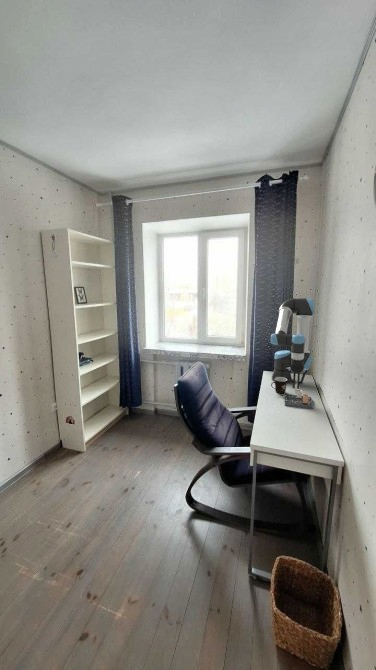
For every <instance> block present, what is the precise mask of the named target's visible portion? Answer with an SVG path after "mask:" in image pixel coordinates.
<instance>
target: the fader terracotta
mask: <svg viewBox="0 0 376 670" xmlns="http://www.w3.org/2000/svg"><path fill="white" fill-rule="evenodd" d="M302 396H303V403H308V397H309V394H307V393H302Z"/></svg>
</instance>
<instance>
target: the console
mask: <svg viewBox="0 0 376 670" xmlns="http://www.w3.org/2000/svg"><path fill="white" fill-rule="evenodd" d="M284 396H285V397H284V406H286V407H294V408H303V409H311V410H313V401H312V396H308V403H303V395H302V398H297V394H291V393H290V394H289V393H285V394H284Z"/></svg>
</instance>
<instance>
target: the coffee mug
mask: <svg viewBox="0 0 376 670" xmlns="http://www.w3.org/2000/svg"><path fill="white" fill-rule="evenodd" d="M273 384H274V387H273ZM270 386H271V387H272V389H274V390H275V393H276V394H278V395H286V389H287V386H288V383H287V379H286V378H284V377H276V378H275V381H273V382H271V384H270Z"/></svg>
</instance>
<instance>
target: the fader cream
mask: <svg viewBox="0 0 376 670" xmlns="http://www.w3.org/2000/svg"><path fill="white" fill-rule="evenodd" d="M296 395H297V398H302V396H303V389H300V388H299V389H297V394H296Z"/></svg>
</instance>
